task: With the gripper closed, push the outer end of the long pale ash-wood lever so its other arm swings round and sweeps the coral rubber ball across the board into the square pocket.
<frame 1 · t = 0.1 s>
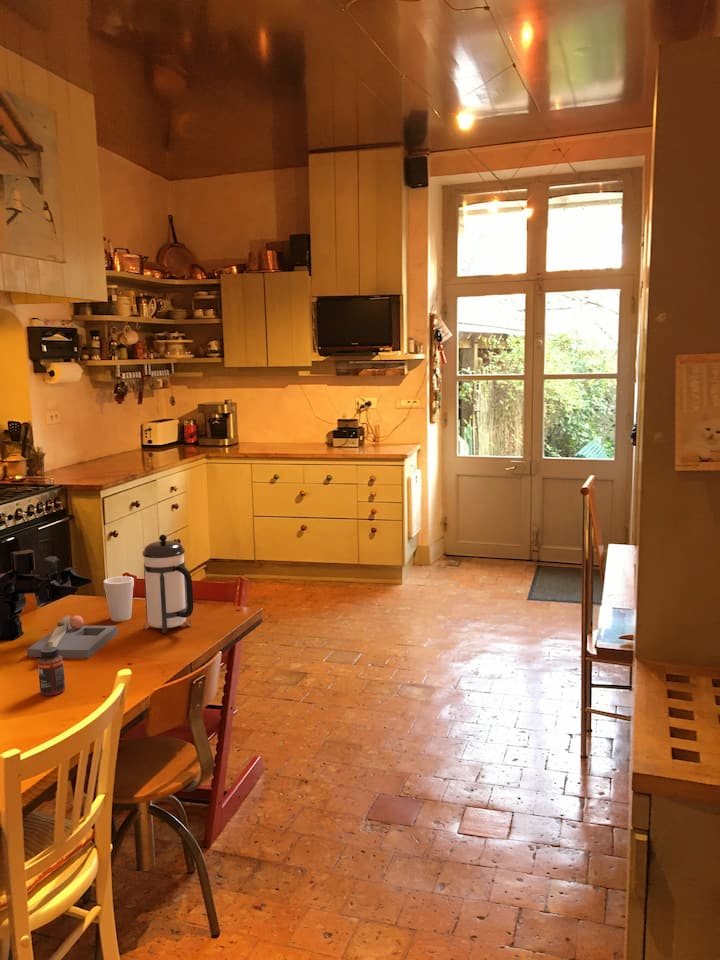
hand: (84, 585, 232), 17 cm above the table, tool horizontal, fingers open, 9 cm apart
coffee press: (171, 628, 242), on the table
lever: (59, 632, 225), point 5 cm above the table, hinge at 15.0°
foam cup: (121, 618, 253), on the table
board: (74, 645, 228), on the table
supplement bottle: (52, 692, 194), on the table
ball: (76, 622, 235), point 4 cm above the table, touching board
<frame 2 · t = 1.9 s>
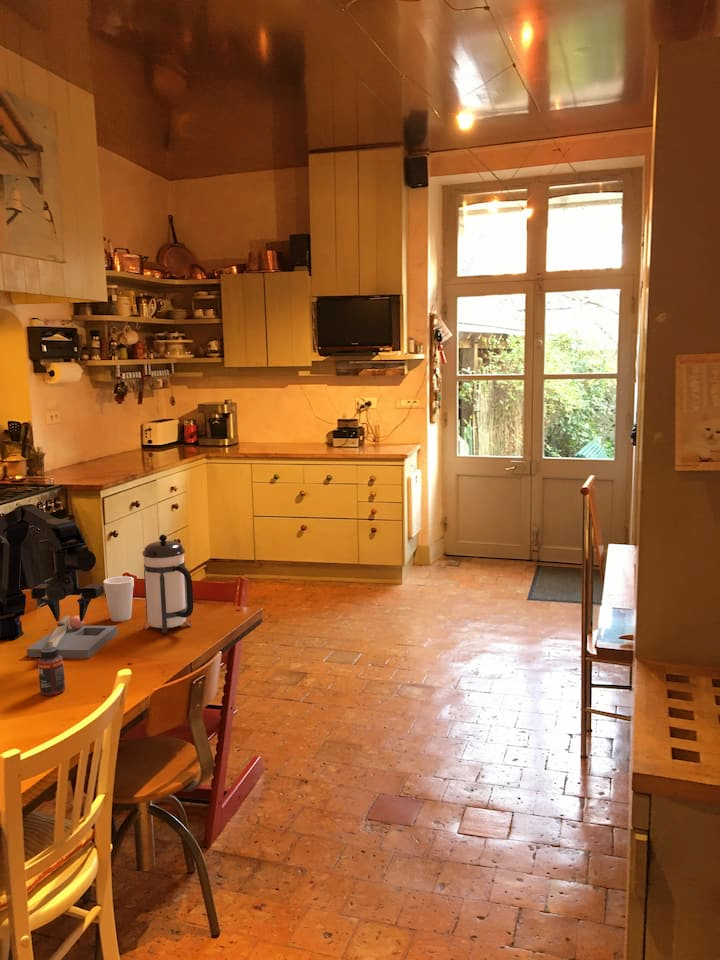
hand: (69, 620, 215), 11 cm above the table, tool pointing down, fingers open, 7 cm apart
nothing on the table moved.
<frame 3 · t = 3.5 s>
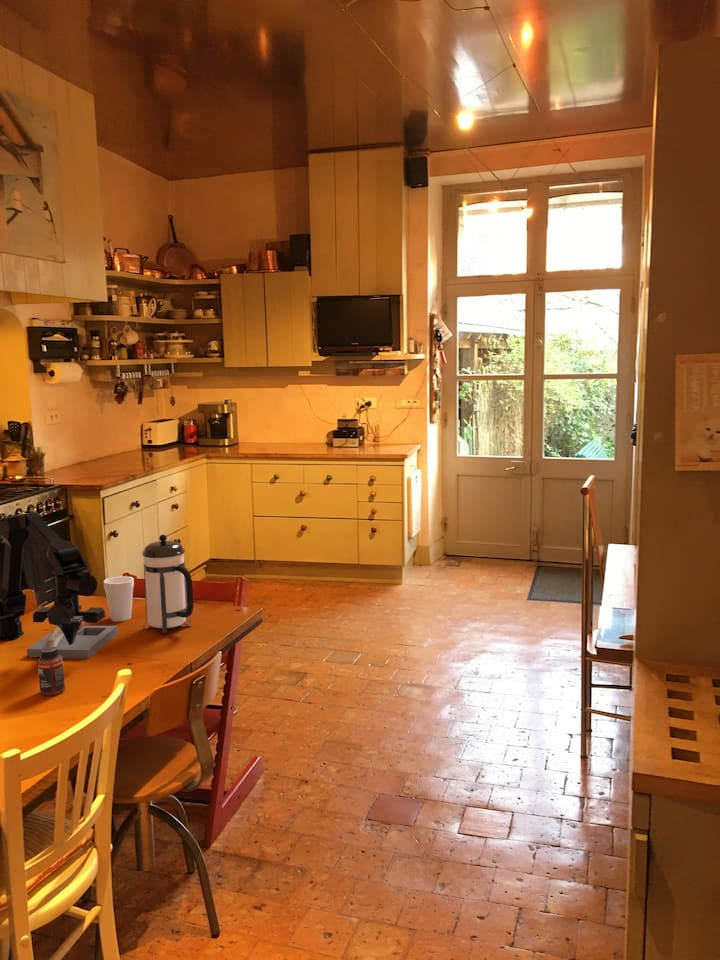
hand: (71, 644, 216), 4 cm above the table, tool pointing down, fingers closed
nothing on the table moved.
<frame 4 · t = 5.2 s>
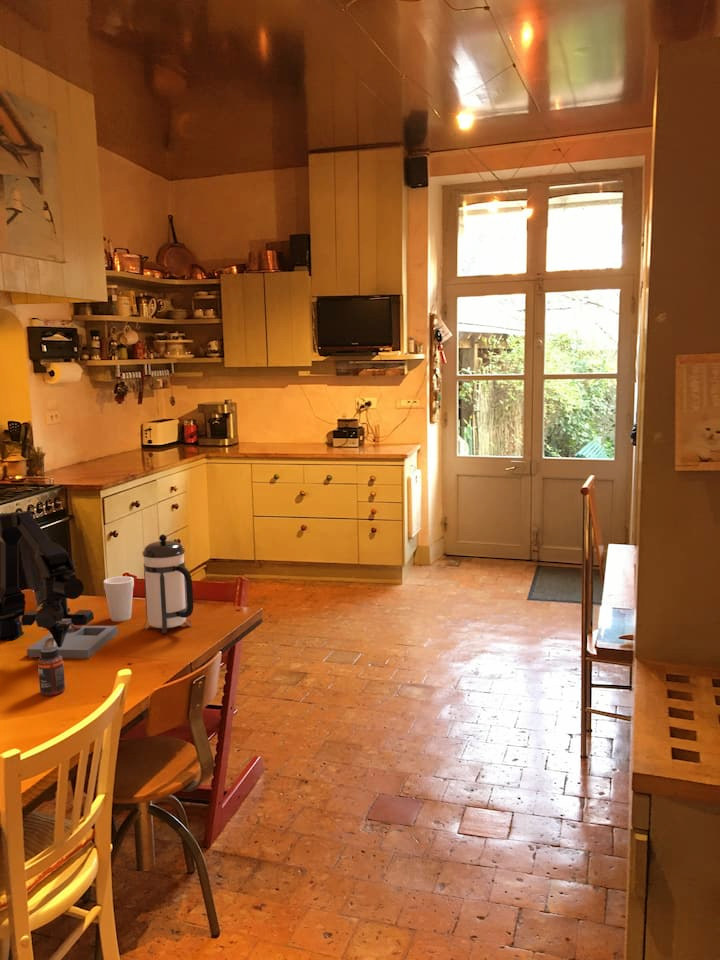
hand: (59, 646, 217), 3 cm above the table, tool pointing down, fingers closed
lever: (58, 632, 225), point 5 cm above the table, hinge at 12.9°, touching gripper
everything else where it was.
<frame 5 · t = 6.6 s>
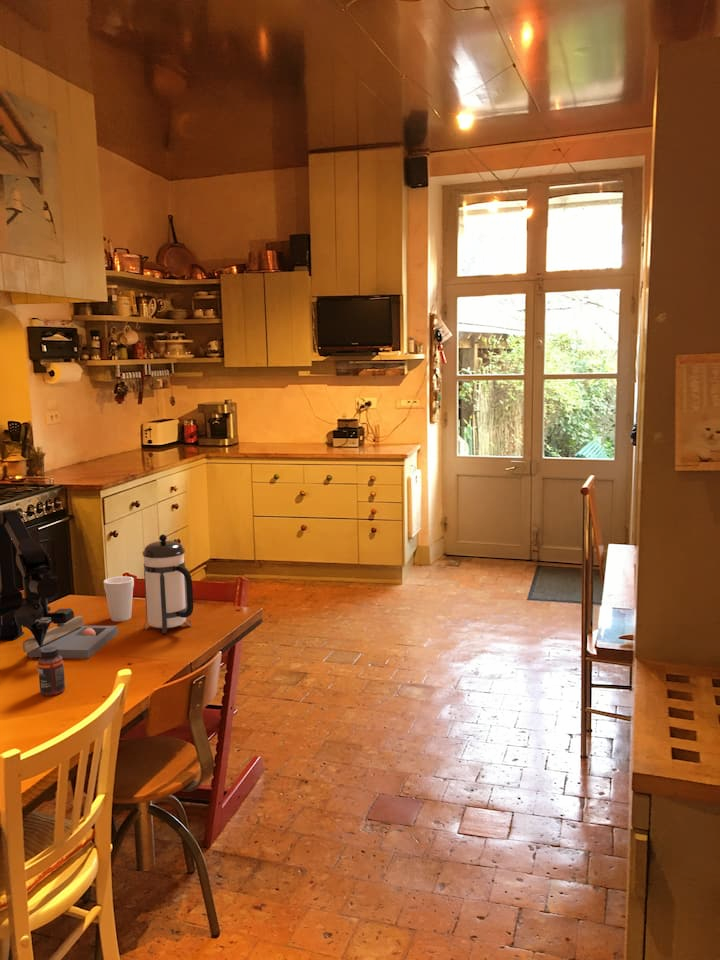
hand: (40, 646, 217), 4 cm above the table, tool pointing down, fingers closed
lever: (54, 632, 225), point 5 cm above the table, hinge at -12.8°, touching gripper
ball: (88, 634, 231), point 2 cm above the table, tilted 79°, touching board
everything else where it was.
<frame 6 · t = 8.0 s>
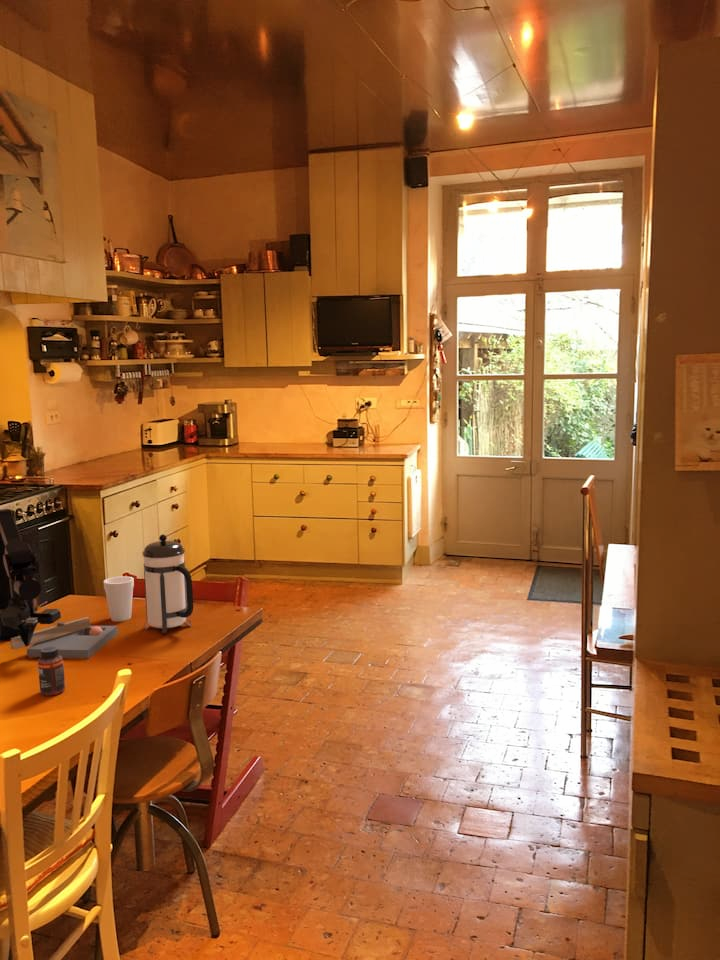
hand: (27, 645, 217), 4 cm above the table, tool pointing down, fingers closed
lever: (51, 631, 226), point 5 cm above the table, hinge at -33.2°, touching gripper
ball: (96, 633, 233), point 2 cm above the table, tilted 131°
everything else where it was.
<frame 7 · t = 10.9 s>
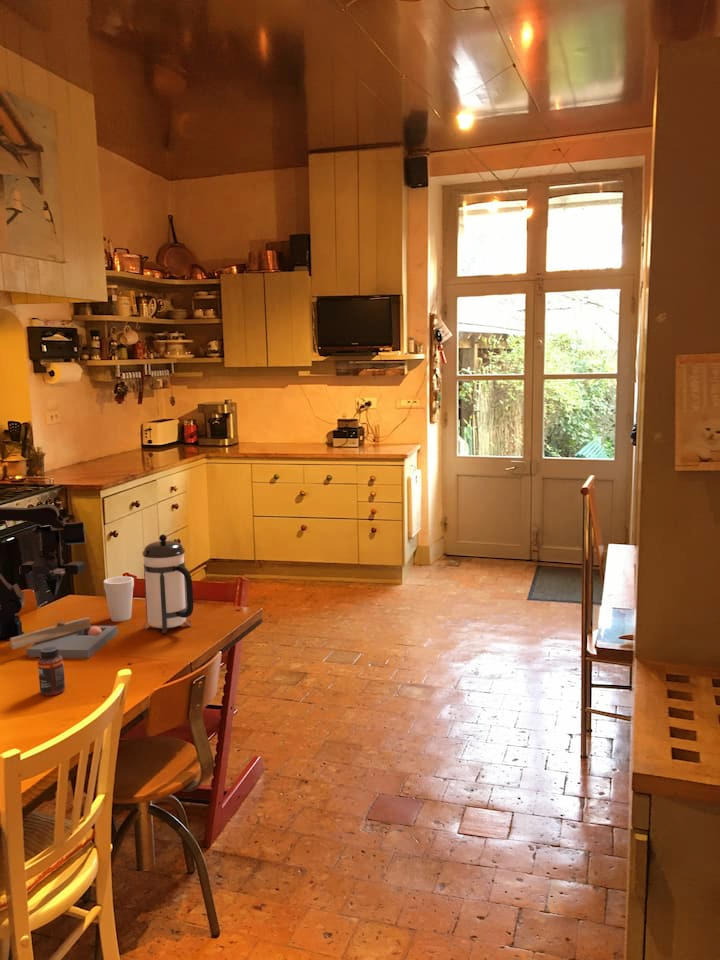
hand: (54, 594, 239), 12 cm above the table, tool pointing down, fingers closed
lever: (51, 631, 226), point 5 cm above the table, hinge at -35.6°
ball: (94, 633, 233), point 2 cm above the table, tilted 121°
everything else where it was.
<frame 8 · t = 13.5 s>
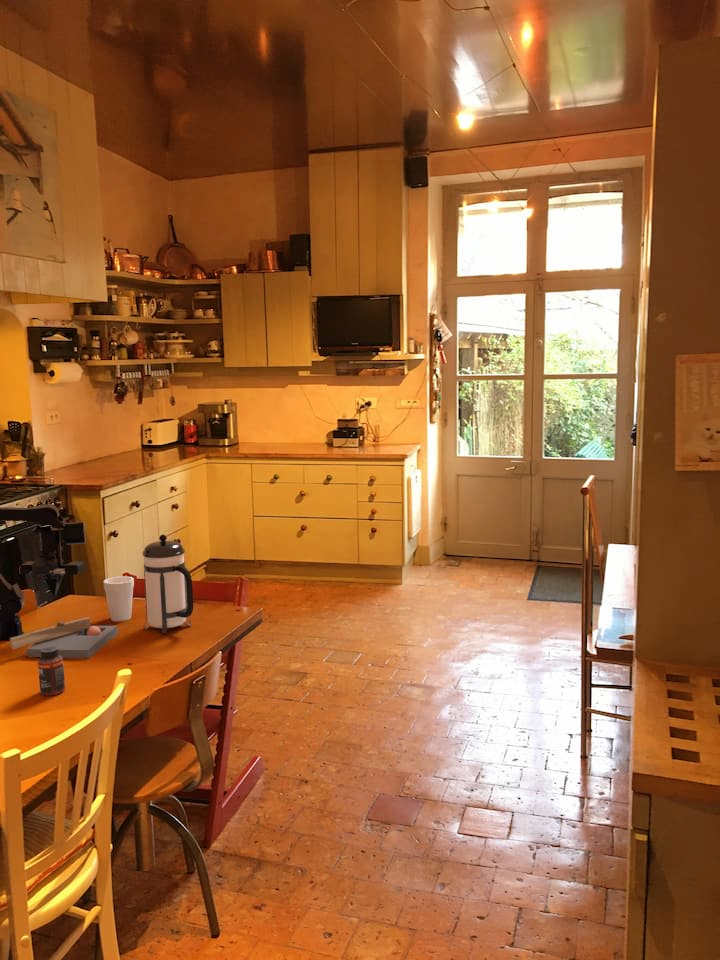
hand: (54, 594, 239), 12 cm above the table, tool pointing down, fingers closed
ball: (94, 633, 233), point 2 cm above the table, tilted 112°
everything else where it was.
at the end: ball inside the target area (0.6 cm from its centre), point 2.0 cm above the table; lever at -36° (first picture: +15°) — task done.
